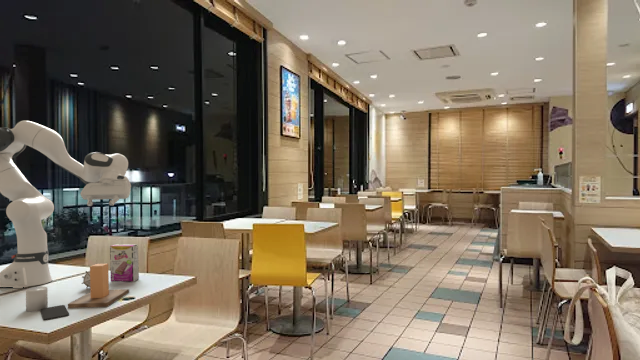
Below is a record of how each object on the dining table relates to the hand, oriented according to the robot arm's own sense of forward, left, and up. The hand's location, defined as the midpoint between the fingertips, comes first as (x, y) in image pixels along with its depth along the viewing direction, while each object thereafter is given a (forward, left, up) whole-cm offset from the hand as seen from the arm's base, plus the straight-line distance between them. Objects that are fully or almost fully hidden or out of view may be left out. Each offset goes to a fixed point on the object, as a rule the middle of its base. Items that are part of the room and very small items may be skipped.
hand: (100, 204), depth 177 cm
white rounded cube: (-8, -30, -35) cm, 47 cm away
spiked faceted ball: (-2, -3, -36) cm, 36 cm away
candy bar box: (+6, +9, -36) cm, 37 cm away
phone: (+1, -35, -36) cm, 50 cm away
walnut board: (+10, -21, -35) cm, 42 cm away
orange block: (+10, -21, -34) cm, 41 cm away
